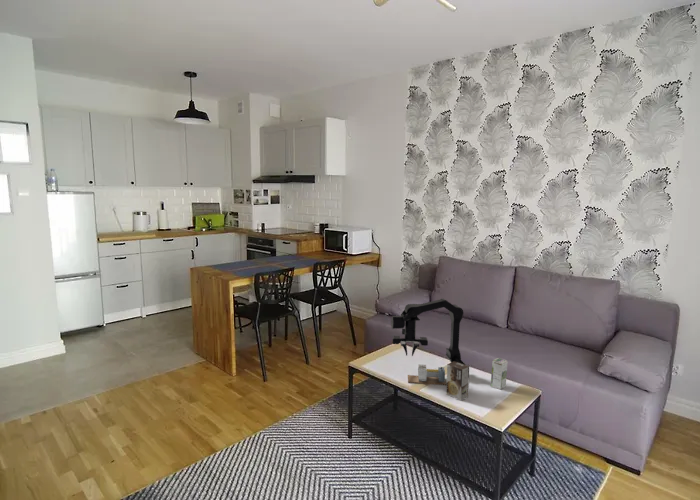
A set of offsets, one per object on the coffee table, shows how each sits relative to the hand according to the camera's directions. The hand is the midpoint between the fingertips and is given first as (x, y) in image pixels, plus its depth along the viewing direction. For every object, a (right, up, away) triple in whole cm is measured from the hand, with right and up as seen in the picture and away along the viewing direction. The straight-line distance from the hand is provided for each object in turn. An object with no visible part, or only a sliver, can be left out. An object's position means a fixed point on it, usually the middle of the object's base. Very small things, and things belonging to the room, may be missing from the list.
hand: (409, 355), depth 228 cm
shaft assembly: (+12, -12, -2) cm, 17 cm away
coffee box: (+21, -16, -18) cm, 32 cm away
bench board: (+9, -13, -2) cm, 16 cm away
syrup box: (+45, -14, -8) cm, 48 cm away
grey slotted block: (+7, -13, -2) cm, 15 cm away
